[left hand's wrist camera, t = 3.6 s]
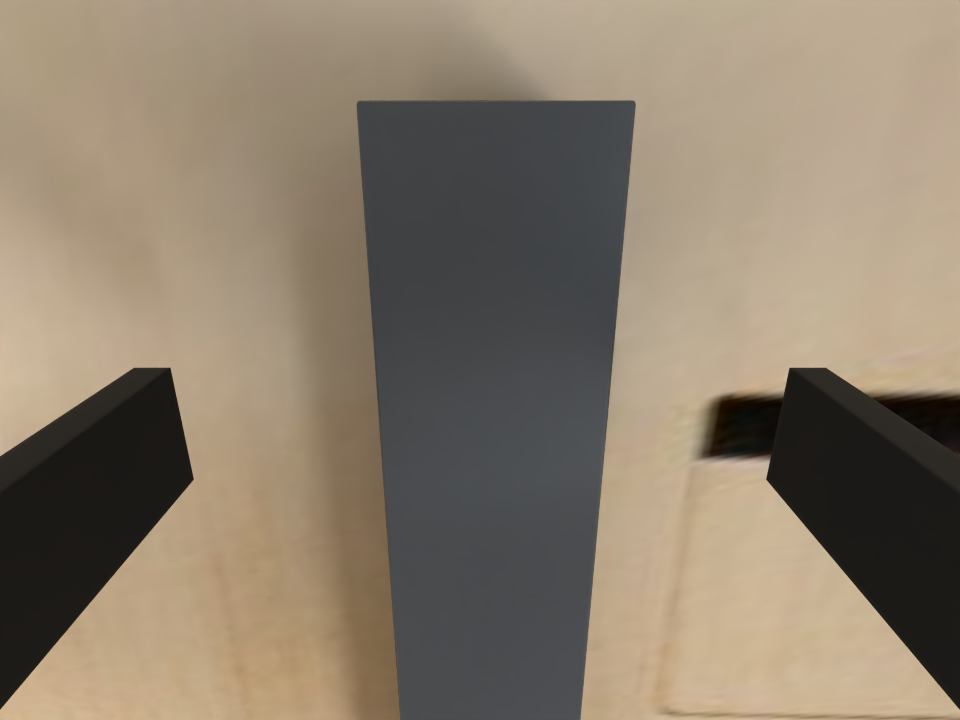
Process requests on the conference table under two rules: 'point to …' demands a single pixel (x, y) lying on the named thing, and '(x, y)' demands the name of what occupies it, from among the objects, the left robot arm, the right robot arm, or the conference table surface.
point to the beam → (493, 388)
